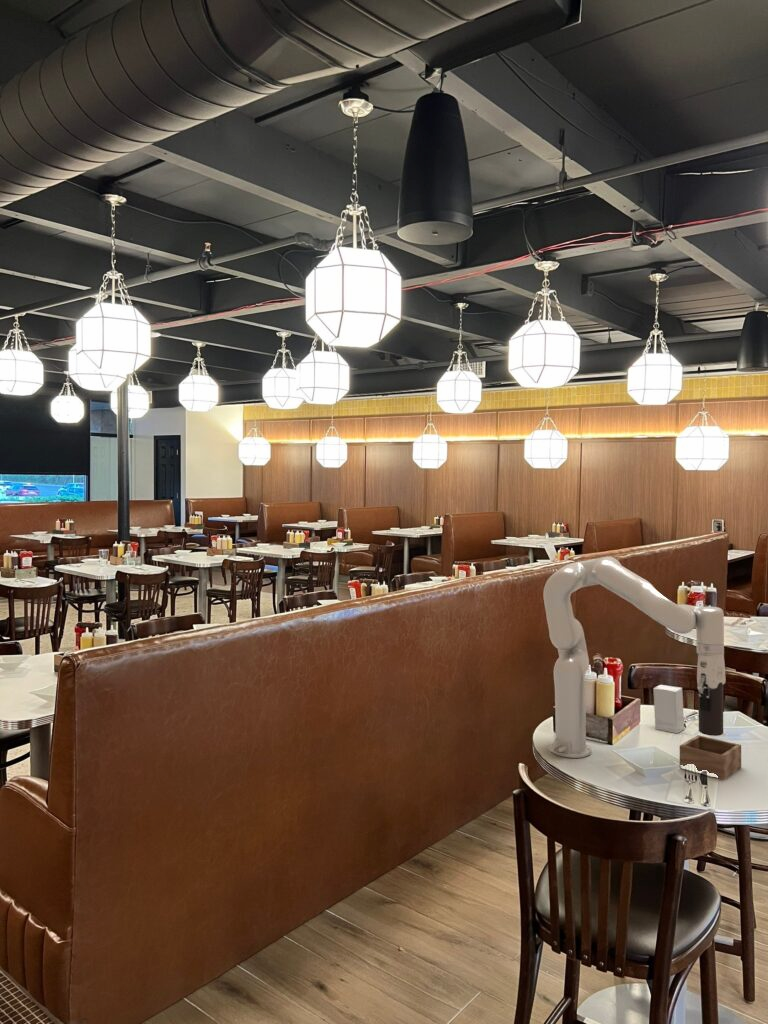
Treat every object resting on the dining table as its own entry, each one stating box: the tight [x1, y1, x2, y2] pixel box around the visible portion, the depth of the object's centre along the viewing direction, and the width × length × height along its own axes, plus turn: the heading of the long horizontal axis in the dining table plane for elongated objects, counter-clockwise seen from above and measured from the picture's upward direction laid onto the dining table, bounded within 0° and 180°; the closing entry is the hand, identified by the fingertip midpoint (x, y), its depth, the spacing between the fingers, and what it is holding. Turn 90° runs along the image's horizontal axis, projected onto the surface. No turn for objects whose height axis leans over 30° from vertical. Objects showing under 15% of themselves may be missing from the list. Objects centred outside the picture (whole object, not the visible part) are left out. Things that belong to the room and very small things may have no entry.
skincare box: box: [652, 684, 685, 734], centre depth 260 cm, size 8×6×15 cm
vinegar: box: [698, 682, 724, 737], centre depth 224 cm, size 7×7×20 cm
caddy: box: [679, 734, 742, 781], centre depth 224 cm, size 13×13×7 cm
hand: (710, 707), depth 224 cm, fingers closed on vinegar, 6 cm apart
